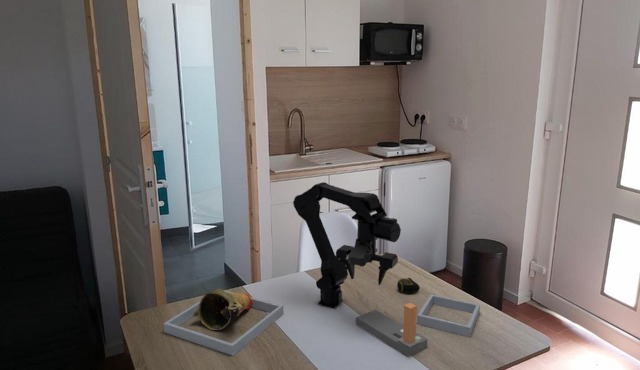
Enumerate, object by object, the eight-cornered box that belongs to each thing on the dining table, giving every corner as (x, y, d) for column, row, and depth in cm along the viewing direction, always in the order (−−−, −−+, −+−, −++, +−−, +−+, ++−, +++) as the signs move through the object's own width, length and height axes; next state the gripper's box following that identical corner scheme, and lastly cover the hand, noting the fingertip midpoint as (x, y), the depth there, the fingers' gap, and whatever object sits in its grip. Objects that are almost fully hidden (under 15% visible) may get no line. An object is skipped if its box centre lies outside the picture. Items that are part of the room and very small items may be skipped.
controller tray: (416, 323, 146) (417, 315, 145) (430, 302, 160) (431, 294, 159) (469, 337, 139) (470, 327, 138) (479, 313, 152) (480, 304, 152)
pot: (266, 281, 155) (231, 286, 137) (272, 318, 152) (237, 328, 135) (221, 289, 162) (182, 295, 145) (225, 325, 160) (187, 335, 142)
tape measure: (420, 293, 166) (420, 284, 165) (402, 296, 164) (403, 286, 163) (410, 285, 173) (411, 276, 172) (393, 288, 171) (394, 278, 170)
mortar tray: (164, 332, 142) (163, 323, 141) (220, 296, 164) (219, 289, 164) (232, 355, 130) (232, 346, 129) (283, 314, 152) (283, 305, 152)
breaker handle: (397, 340, 132) (398, 304, 129) (408, 335, 135) (409, 300, 132) (409, 347, 129) (410, 311, 126) (420, 342, 131) (422, 306, 129)
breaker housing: (356, 324, 146) (356, 316, 145) (374, 316, 151) (375, 309, 150) (407, 357, 129) (408, 348, 129) (427, 346, 134) (427, 338, 133)
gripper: (327, 238, 142) (327, 285, 145) (386, 248, 133) (384, 298, 137) (343, 227, 151) (343, 272, 155) (399, 236, 143) (397, 283, 146)
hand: (365, 281), depth 148 cm, fingers open, 9 cm apart
